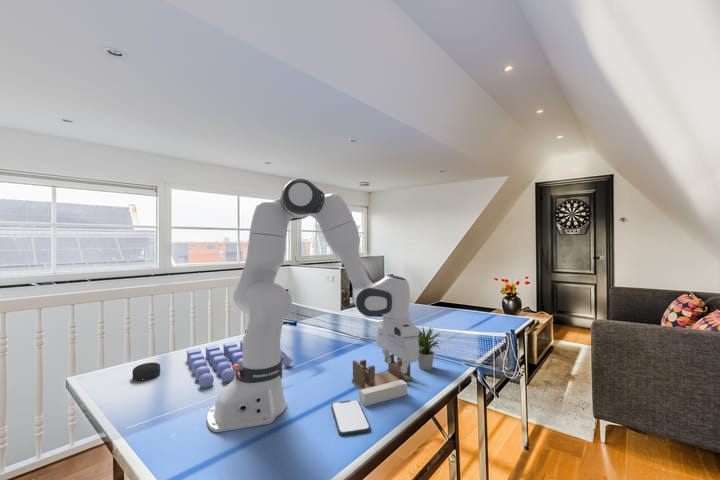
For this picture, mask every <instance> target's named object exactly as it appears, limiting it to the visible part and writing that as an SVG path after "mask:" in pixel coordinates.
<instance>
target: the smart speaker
mask: <svg viewBox="0 0 720 480" xmlns="http://www.w3.org/2000/svg"><path fill="white" fill-rule="evenodd" d="M160 374H161V364H160V363H158V362H146V363H142V364H139V365H136V366H135V367H134V368H133V369H132V379H133V380H135V379H136V380H135V381H143V380H142V379H148V380H150V379H149V378H151V379H154V378H155V376H156V377H158V376H159V375H160ZM157 375H158V376H157ZM153 377H154V378H153Z"/></svg>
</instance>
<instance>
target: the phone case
mask: <svg viewBox="0 0 720 480" xmlns="http://www.w3.org/2000/svg"><path fill="white" fill-rule="evenodd" d="M361 405H362V404H361V403H360V400H356V399H353V400H344V401H334V402H333V403H331V405H330V406H331V407H330V408H331V411H332V416H333V419H334V423H335V426H336V429H337V433H338V436H340V437H348V436H356V435H362V434H368V433H370V432H371V425H370V423H369V421H368V418H367V417H366V415H365V411H364V409H363V407H362V406H361Z"/></svg>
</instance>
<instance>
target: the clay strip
mask: <svg viewBox="0 0 720 480" xmlns="http://www.w3.org/2000/svg"><path fill="white" fill-rule="evenodd" d="M407 395H408V383H407V381H406V382H404V381H403V380H398V381H394V382H390V383H386V384H382V385H378V386H374V387H370V388H366V389H361V390H360V389H359V403H360V405H363V407H366V406H369V405H375V404H379V403H382V402H386V401H389V400H392V399H395V398H396V399H397V398H400V397H403V396H407Z"/></svg>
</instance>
